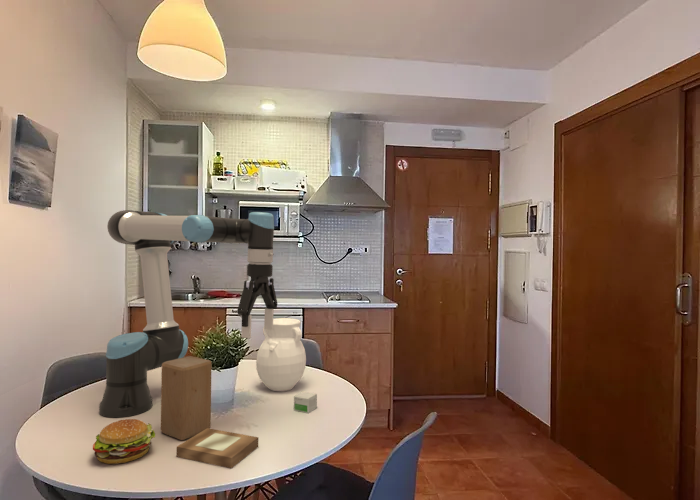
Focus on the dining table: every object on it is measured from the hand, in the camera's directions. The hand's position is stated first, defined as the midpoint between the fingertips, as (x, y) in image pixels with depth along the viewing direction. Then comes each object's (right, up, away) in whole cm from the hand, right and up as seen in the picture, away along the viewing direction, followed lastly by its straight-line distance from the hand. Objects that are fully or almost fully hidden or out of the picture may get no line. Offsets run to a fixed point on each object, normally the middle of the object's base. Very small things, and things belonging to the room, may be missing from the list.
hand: (257, 333), depth 132 cm
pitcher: (+2, -26, +31) cm, 41 cm away
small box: (+14, -27, +9) cm, 31 cm away
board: (-6, -26, -21) cm, 34 cm away
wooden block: (-18, -26, -9) cm, 33 cm away
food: (-28, -26, -23) cm, 45 cm away
